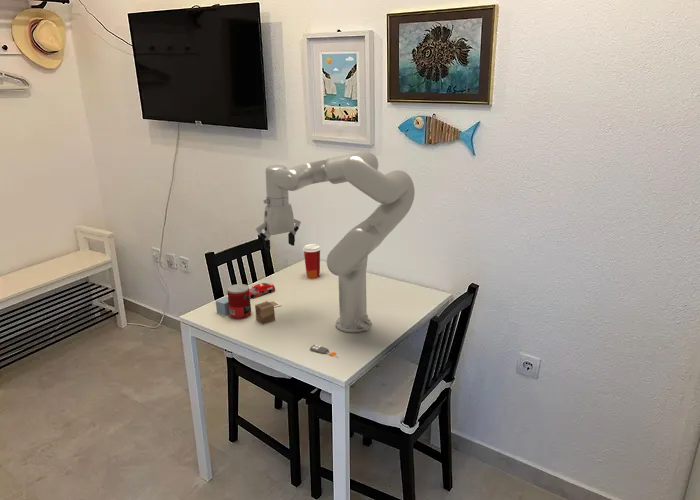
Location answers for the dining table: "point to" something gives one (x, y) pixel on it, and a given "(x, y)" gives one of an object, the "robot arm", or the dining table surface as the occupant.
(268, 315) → the walnut block
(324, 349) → the key chain
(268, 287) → the race car
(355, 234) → the robot arm
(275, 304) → the swatch
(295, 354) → the dining table surface
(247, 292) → the canned food
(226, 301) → the slate block
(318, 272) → the paper cup
